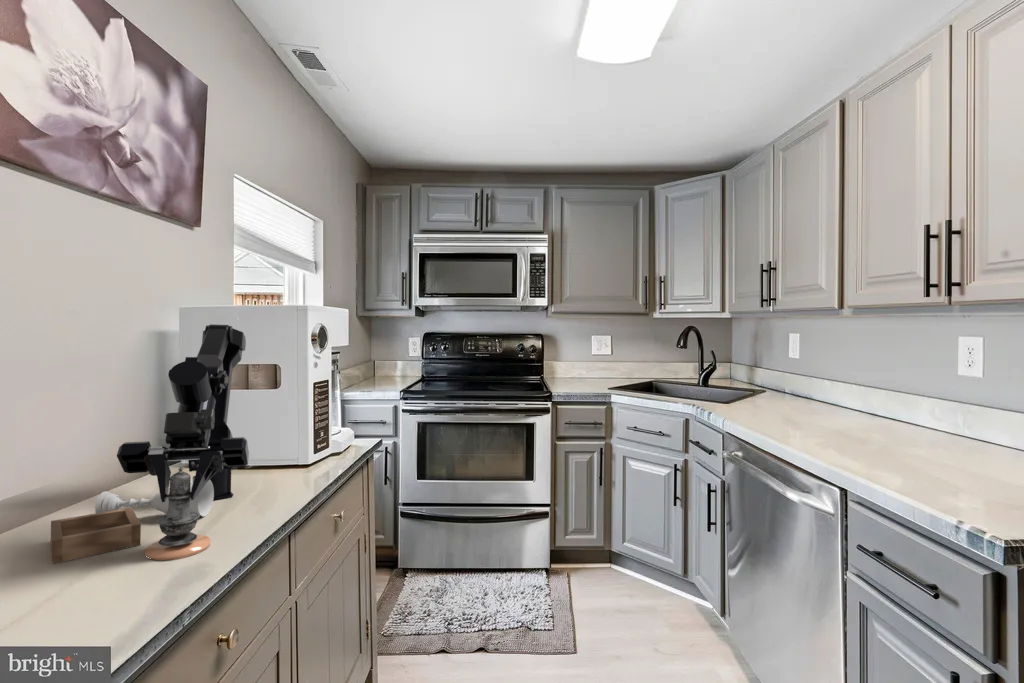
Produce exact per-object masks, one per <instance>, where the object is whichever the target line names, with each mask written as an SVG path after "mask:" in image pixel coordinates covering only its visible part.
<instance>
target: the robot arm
mask: <svg viewBox="0 0 1024 683" xmlns="http://www.w3.org/2000/svg"><path fill="white" fill-rule="evenodd" d="M201 339H202V340H201V346H200V348H199V351H198V353H197V355H196V356H194V357H193V356H185V360H184V361H182V362H179V363H177V364H175V365H174V366H172V368H171V369H169V370H168V379H169V383H170V386H171V388H172V390H171V391H172V392H173V395H174V400H175V402H176V403H179V404H178V408H177V411H176V412H167V413H166V415H165V419H164V427H163V433H164V434H166V436H165V438H164V440H165V443H166V445H169V446H168V447H166V446H164V445H163V446H152V444H151V442H150V441H128V442H123V443H122V444H121V445H119V447H118V450H117V453H116V458H117V459H118V461H119V465H120V466H121V469H122V470H123V472H124V473H127V474H138V473H139V474H142V473H143V474H144V473H148V472H149V475H151V476H154V477H155V476H156V479H157V484H158V489H159V493H160V496H161V500H162V502H165V501H166V498H167V495H168V489H169V488H170V478H171V476H172V475H171V474H172V471H171V468H170V465H169V463H170V462H174V461H175V462H176V461H177V462H178V461H188V470H189V471H188V472H195V474H194V475H193V476H192V483H193V485H192V489H191V496H190V498H191V500H194V499H195V498H196V496H197V495H198V494H199V492H200V491H201V490H202V488H203V487H204V485H205V484H206V483H207V482H208V481H209V480H211V481H212V484H213V488H214V498H213V501H214V500H215V501H216V500H219V499H225V498H226V499H227V498H231V497H233V496H234V493H233V492H232V470H234V469H235V468H239V467H240V468H241V467H246V466H248V465H249V458H250V455H249V454H250V453H249V452H250V451H249V446H248V440H247V439H246V437H244V436H241V437H239V436H237V437H233V433H232V432H231V430H230V428H229V426H228V425H227V423H228V415H229V414H228V413H229V408H230V407H229V406H230V399H231V398H230V396H231V388H232V380H233V379H232V378H233V371H234V368H236V366H237V365H238V364H239V363H240V361H241V360H242V356H243V352H245V351H246V346H247V344H246V342H247V341H246V336H245V334H244V332H243V331H240V330H238V329H235V328H233V326H232V325H229V324H211V323H210V324H209V325H208V324H207V325H206V326H205V330H202V338H201Z"/></svg>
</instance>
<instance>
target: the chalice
mask: <svg viewBox="0 0 1024 683" xmlns="http://www.w3.org/2000/svg"><path fill="white" fill-rule="evenodd" d="M192 485H193V482H190V492H191V489H192ZM169 492H170V487H169V489H168V494H169ZM213 498H214V488H213V484H212V481H211V480H209V481H208V482H207V483H206V484H205V485H204V487H203V488H202V490H201V491H200V492H199V494H198V495H197V496H196V498H195V499H194V500H191V498H190V507H191V511H192V512H195V513H198V514H199V515H200V517H206V516H207V515H208V514H209V513H210V511H211V509H212V506H213V504H214V500H213ZM147 505H152V507H153V508H152V509H154V510H156V511H159V512H162V513H164V514H165V515H166V514H167V512H168V505H169V499H168V498H166V501H165V502H162V500H161V496H160V492H158V493H156V494H154V496H153V498H151V499H149V498H145V497H142V498H140V499H138V500H137V499H135V498H130V499H129V500H122V498H121V496H119V495H118V494H116V493H113V492H112V493H111V492H109V491H107V490H106V491H102V492H101V493H100V494H99V495H98V496H97V498H96V502H95V506H94V512H95V514H96V513H102V512H108V511H114V510H120V509H121V508H122V507H128V508H132V509H133V507H135V506H140V507H144V506H147Z"/></svg>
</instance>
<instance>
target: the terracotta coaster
mask: <svg viewBox="0 0 1024 683" xmlns="http://www.w3.org/2000/svg"><path fill="white" fill-rule="evenodd" d="M196 535H197V538H196V539H195V540H194V541H192V542H189V543H186V544H183V545H177V546H163V545H160V544H159V540H158V541H155V542H153V543H152V544H150V545H148V546H147V547H146V548H145V550H144V551H145V552H144V556H145V555H146V556H147V557H149V558H151V559H150V560H152V559H156V560H155V561H173V560H179V559H183V558H189V557H192V556H196V555H197V554H200V553H202V552H203V551H206V550H207V549H208V548H209V547H210V546H211V538H210V537H209V536H207V535H203V534H196ZM146 556H145V557H146ZM147 557H146V558H147ZM149 558H148V559H149Z"/></svg>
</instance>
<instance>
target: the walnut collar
mask: <svg viewBox="0 0 1024 683" xmlns="http://www.w3.org/2000/svg"><path fill="white" fill-rule="evenodd" d="M141 526H142V525H141V522H140V520H139V518H138V517H137V515H136V512H135V511H134V509H133V507H132V508H130V507H126V508H122V509H121V508H120V510H114V511H108V512H102V513H96V512H95V513H90V514H85V515H80V516H79V515H78V516H72V517H67V518H61V519H55V520H50V557H51V558H50V559H51V564H52V565H54V564H57V563H62V562H68V561H73V560H76V559H81V558H86V556H87V557H91V556H90V555H92V556H95V555H94V554H96V555H100V554H99V553H101V554H105V553H104V552H106V553H109V552H108V551H111V552H114V551H113V550H116V551H118V550H117V549H120V550H123V549H122V548H125V549H127V548H126V547H130V548H132V547H131V546H135V545H139V546H141V534H142V532H141V531H142V527H141ZM135 547H136V546H135ZM72 559H73V560H72Z"/></svg>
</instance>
